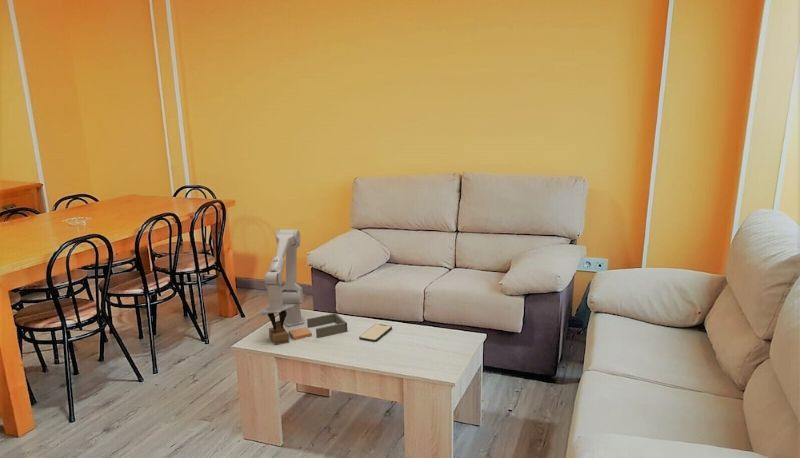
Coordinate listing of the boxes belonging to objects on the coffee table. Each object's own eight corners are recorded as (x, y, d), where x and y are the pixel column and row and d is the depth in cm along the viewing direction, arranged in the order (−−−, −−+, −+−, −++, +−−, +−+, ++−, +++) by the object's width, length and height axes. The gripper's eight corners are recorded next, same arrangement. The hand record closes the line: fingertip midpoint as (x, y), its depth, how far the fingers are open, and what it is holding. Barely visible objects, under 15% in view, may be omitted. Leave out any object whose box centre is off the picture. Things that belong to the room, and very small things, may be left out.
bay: (307, 327, 268) (306, 318, 267) (336, 321, 274) (336, 313, 273) (317, 337, 256) (316, 329, 255) (347, 331, 262) (346, 322, 261)
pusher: (269, 336, 259) (267, 319, 257) (282, 334, 262) (281, 317, 260) (275, 345, 250) (273, 327, 248) (289, 342, 253) (287, 324, 251)
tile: (288, 335, 262) (288, 330, 261) (306, 331, 265) (305, 327, 265) (294, 341, 255) (294, 337, 254) (312, 337, 258) (311, 332, 258)
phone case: (376, 343, 249) (393, 329, 263) (375, 340, 249) (393, 326, 263) (358, 340, 253) (376, 326, 267) (357, 337, 253) (375, 323, 267)
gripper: (260, 304, 245) (263, 335, 248) (294, 298, 251) (297, 328, 254) (256, 299, 251) (259, 329, 254) (290, 293, 257) (292, 322, 260)
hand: (278, 328), depth 255 cm, fingers closed on pusher, 2 cm apart
